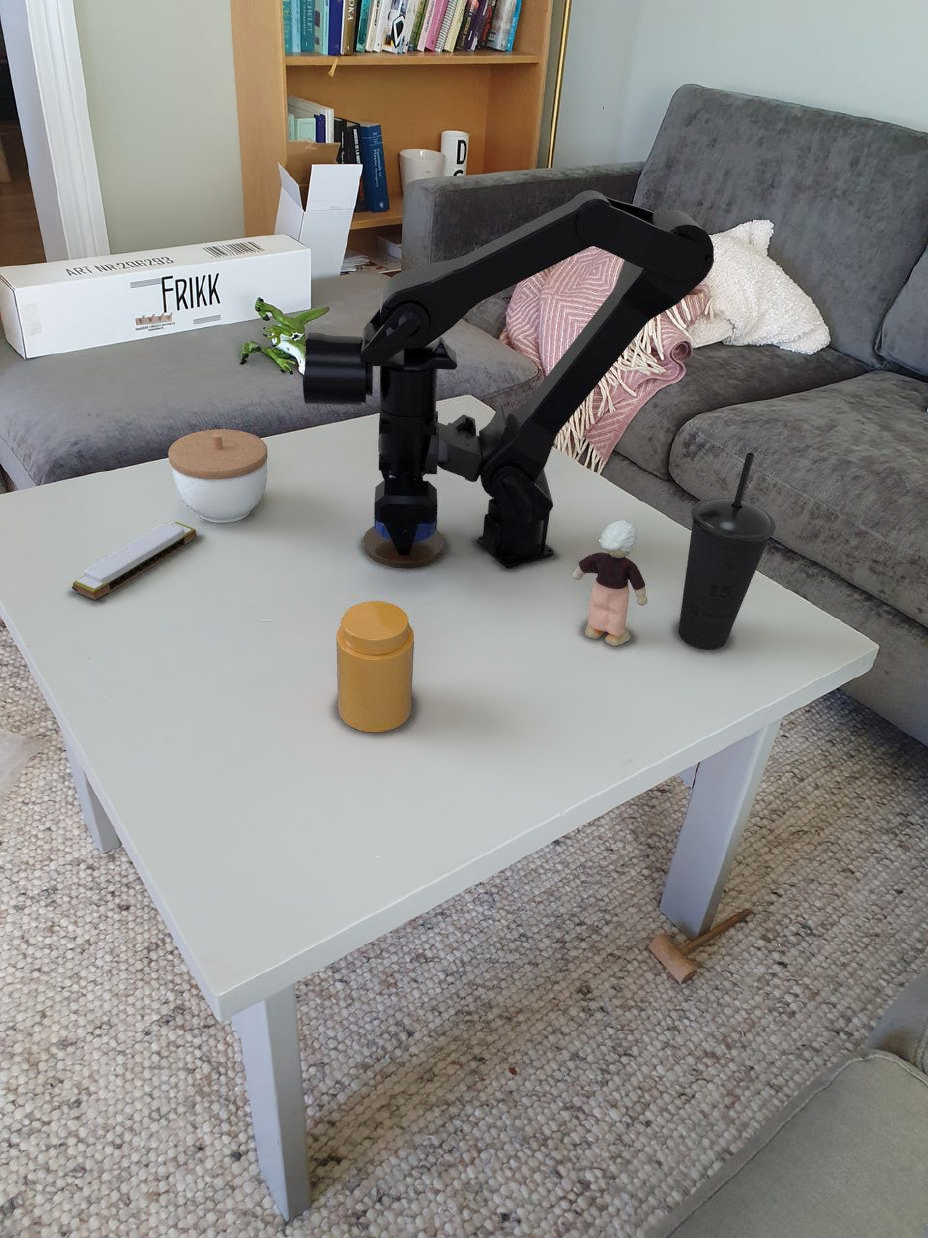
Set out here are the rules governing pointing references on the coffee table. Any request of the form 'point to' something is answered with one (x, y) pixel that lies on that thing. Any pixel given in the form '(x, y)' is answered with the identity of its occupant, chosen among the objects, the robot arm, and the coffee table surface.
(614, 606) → the grandmother figurine
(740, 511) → the drinking cup
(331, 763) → the coffee table surface
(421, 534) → the lid
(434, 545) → the coaster
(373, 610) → the jar
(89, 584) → the harmonica
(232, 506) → the trinket box
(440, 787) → the coffee table surface
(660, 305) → the robot arm
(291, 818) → the coffee table surface
